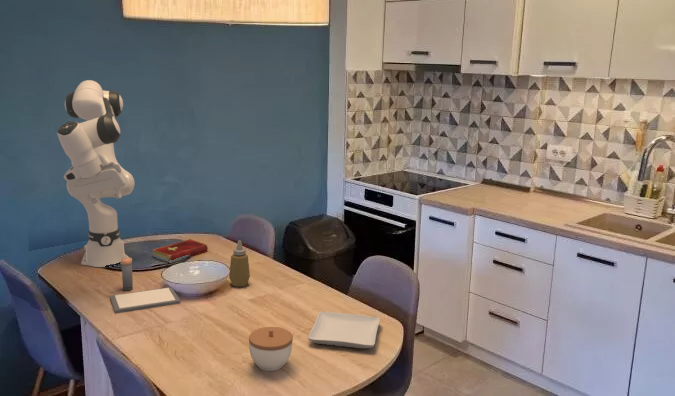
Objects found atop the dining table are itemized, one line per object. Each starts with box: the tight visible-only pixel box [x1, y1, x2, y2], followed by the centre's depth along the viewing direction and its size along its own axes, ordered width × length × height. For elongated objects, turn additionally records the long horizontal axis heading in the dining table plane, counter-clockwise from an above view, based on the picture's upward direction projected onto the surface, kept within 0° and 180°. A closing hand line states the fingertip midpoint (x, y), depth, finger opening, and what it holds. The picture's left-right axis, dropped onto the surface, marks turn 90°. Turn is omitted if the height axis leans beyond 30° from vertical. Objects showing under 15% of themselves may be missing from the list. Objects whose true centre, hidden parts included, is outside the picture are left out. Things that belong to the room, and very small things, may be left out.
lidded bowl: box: [248, 326, 294, 372], centre depth 171 cm, size 13×13×11 cm
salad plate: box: [307, 311, 381, 349], centre depth 192 cm, size 21×21×3 cm
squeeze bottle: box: [228, 240, 251, 288], centre depth 229 cm, size 8×8×18 cm
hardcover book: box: [151, 238, 209, 261], centre depth 261 cm, size 12×21×4 cm, turn 143°
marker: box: [120, 256, 134, 292], centre depth 221 cm, size 4×4×12 cm
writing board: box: [109, 286, 181, 314], centre depth 213 cm, size 14×22×1 cm, turn 117°
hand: (107, 200), depth 210 cm, fingers open, 8 cm apart
